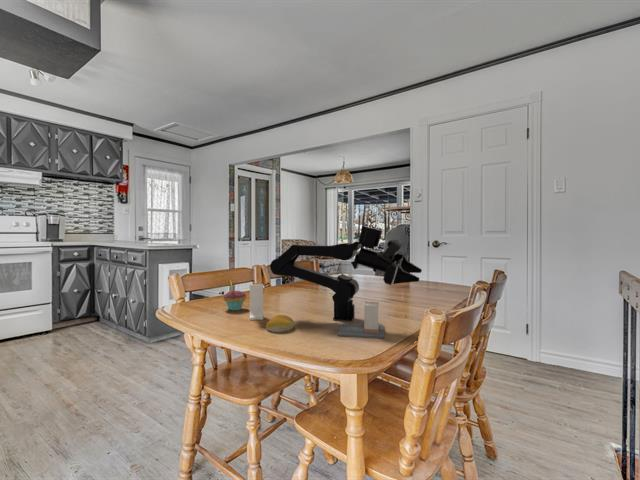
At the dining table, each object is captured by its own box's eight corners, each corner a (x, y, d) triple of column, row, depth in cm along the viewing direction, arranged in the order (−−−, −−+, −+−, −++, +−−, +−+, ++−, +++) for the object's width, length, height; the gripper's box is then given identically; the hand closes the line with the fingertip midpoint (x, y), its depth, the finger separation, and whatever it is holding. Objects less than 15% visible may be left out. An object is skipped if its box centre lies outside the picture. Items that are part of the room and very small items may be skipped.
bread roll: (262, 332, 100) (262, 319, 100) (272, 324, 109) (272, 312, 109) (289, 334, 99) (289, 320, 99) (297, 325, 108) (297, 313, 107)
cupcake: (219, 311, 127) (219, 279, 127) (229, 306, 135) (229, 276, 135) (241, 311, 125) (241, 279, 125) (249, 306, 134) (249, 276, 134)
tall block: (364, 332, 98) (364, 305, 98) (365, 327, 103) (365, 301, 103) (378, 333, 97) (378, 305, 97) (378, 328, 102) (378, 302, 102)
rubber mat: (337, 335, 96) (337, 334, 96) (342, 325, 107) (342, 323, 107) (383, 338, 94) (383, 336, 94) (383, 327, 105) (383, 325, 105)
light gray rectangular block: (249, 320, 114) (249, 284, 114) (250, 315, 120) (249, 282, 119) (263, 319, 115) (263, 284, 114) (263, 315, 121) (263, 281, 120)
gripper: (374, 243, 101) (426, 259, 97) (384, 232, 118) (429, 245, 114) (364, 277, 104) (414, 294, 100) (376, 261, 121) (419, 275, 117)
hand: (420, 275), depth 107 cm, fingers open, 9 cm apart
